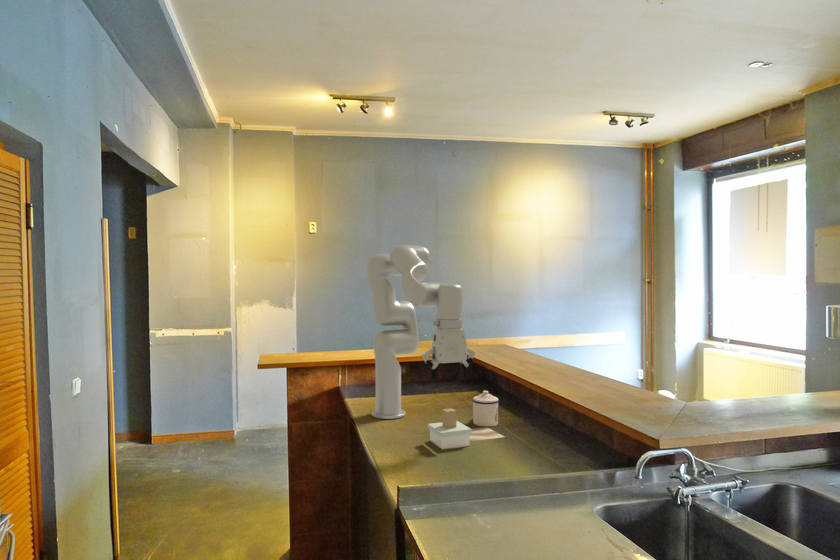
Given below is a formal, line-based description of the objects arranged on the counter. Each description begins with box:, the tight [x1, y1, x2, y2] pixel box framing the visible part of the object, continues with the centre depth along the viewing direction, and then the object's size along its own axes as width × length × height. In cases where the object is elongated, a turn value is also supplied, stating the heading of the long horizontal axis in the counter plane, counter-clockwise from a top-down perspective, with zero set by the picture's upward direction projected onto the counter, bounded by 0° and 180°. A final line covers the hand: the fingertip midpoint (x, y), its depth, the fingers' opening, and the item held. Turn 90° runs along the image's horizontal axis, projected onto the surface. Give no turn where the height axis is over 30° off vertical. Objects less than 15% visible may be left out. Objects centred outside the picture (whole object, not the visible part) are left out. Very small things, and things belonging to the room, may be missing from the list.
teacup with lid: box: [472, 390, 499, 427], centre depth 181 cm, size 12×9×12 cm
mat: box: [469, 426, 505, 442], centre depth 166 cm, size 12×12×1 cm
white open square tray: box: [429, 429, 470, 450], centre depth 157 cm, size 9×9×4 cm
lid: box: [427, 408, 473, 437], centre depth 157 cm, size 10×10×6 cm
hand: (448, 380), depth 157 cm, fingers open, 9 cm apart
